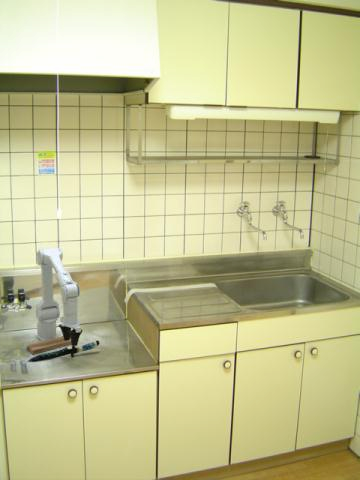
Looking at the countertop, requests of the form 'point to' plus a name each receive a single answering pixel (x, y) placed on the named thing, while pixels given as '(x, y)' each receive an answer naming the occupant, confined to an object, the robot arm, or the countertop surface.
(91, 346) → the knife
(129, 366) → the countertop surface
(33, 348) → the walnut board
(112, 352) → the countertop surface
